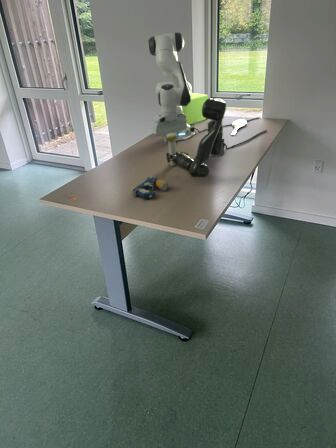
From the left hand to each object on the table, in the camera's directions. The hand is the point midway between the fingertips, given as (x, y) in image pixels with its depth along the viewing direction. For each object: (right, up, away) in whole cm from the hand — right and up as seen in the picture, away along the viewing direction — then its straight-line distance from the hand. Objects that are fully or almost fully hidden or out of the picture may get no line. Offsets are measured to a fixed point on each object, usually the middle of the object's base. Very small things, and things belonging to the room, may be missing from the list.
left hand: (171, 140), depth 195 cm
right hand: (0, -6, +7) cm, 9 cm away
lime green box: (+17, +41, +94) cm, 104 cm away
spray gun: (-10, -32, -21) cm, 40 cm away
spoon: (+51, +24, +61) cm, 83 cm away
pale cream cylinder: (+1, -13, +8) cm, 15 cm away
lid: (0, +2, -1) cm, 2 cm away
